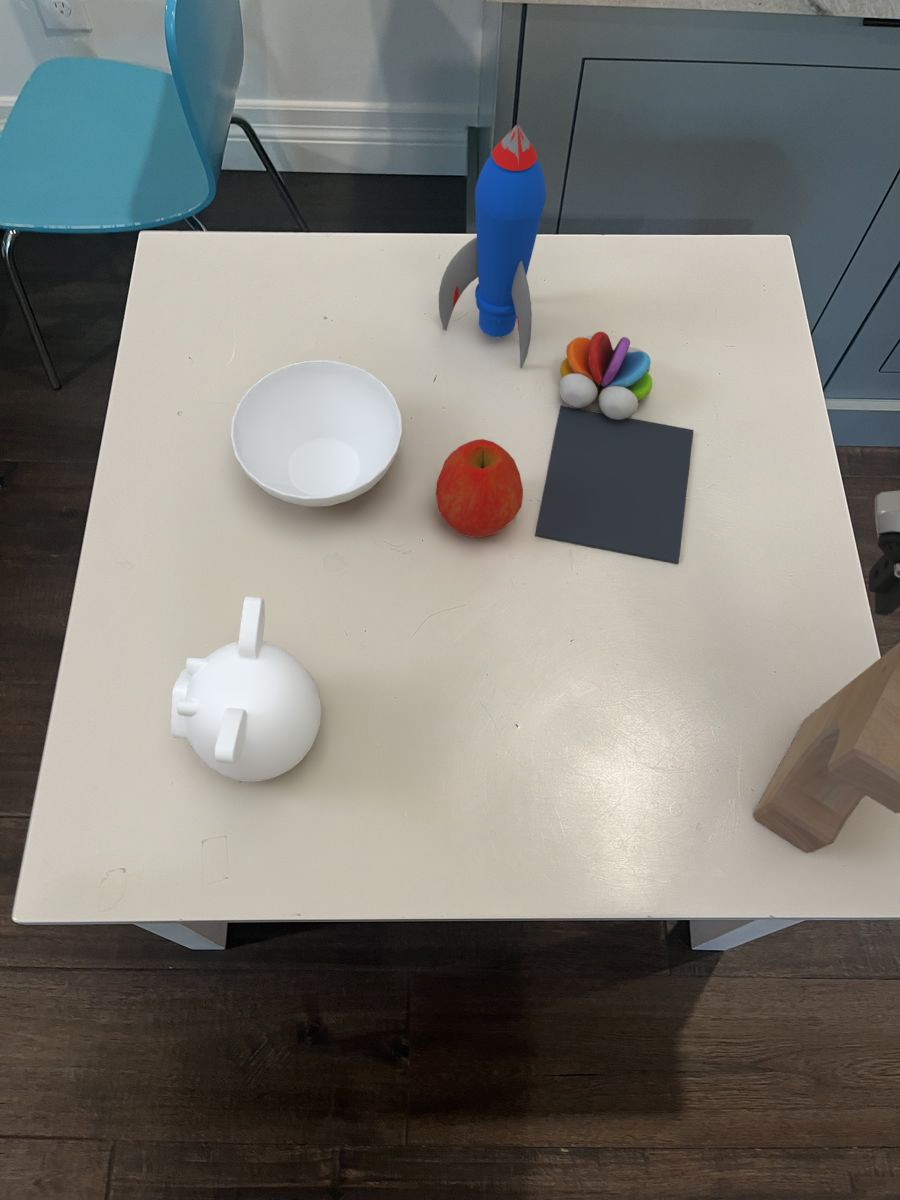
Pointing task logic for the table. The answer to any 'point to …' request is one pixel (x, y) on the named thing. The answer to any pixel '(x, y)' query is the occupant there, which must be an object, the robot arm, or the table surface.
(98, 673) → the table surface
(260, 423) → the bowl
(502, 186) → the toy rocket
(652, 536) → the mat
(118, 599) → the table surface
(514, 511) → the apple
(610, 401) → the rainbow petal flower
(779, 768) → the decorative block
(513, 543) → the table surface
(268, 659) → the piggy bank
